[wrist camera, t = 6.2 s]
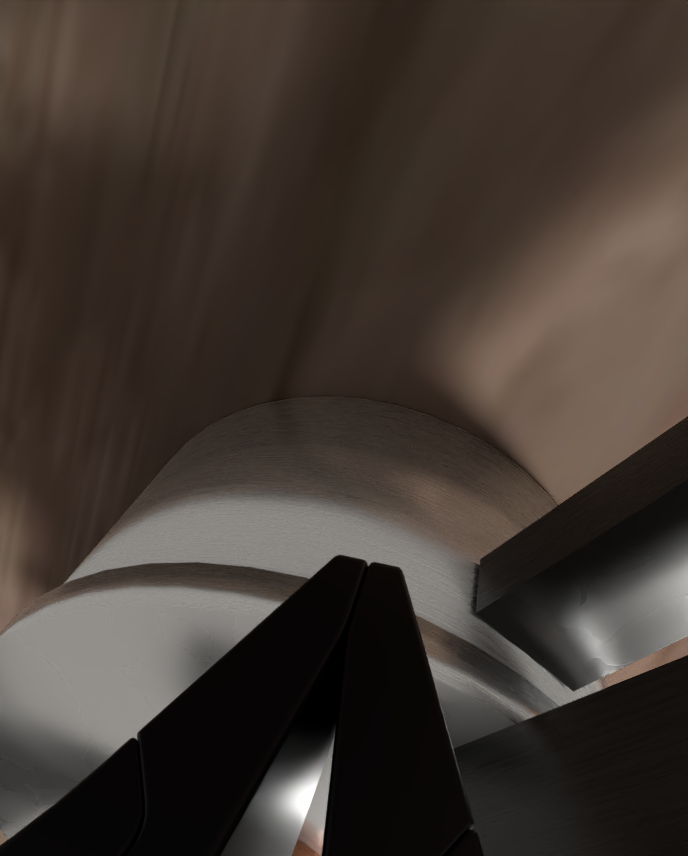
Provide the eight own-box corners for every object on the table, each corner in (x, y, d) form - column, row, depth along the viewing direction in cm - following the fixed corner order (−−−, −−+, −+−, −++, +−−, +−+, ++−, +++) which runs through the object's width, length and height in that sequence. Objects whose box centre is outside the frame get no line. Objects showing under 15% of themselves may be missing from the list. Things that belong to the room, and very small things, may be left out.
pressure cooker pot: (333, 811, 26) (283, 1010, 21) (47, 611, 24) (-92, 776, 18) (1059, 460, 13) (1445, 748, 8) (584, -51, 11) (648, -156, 5)
